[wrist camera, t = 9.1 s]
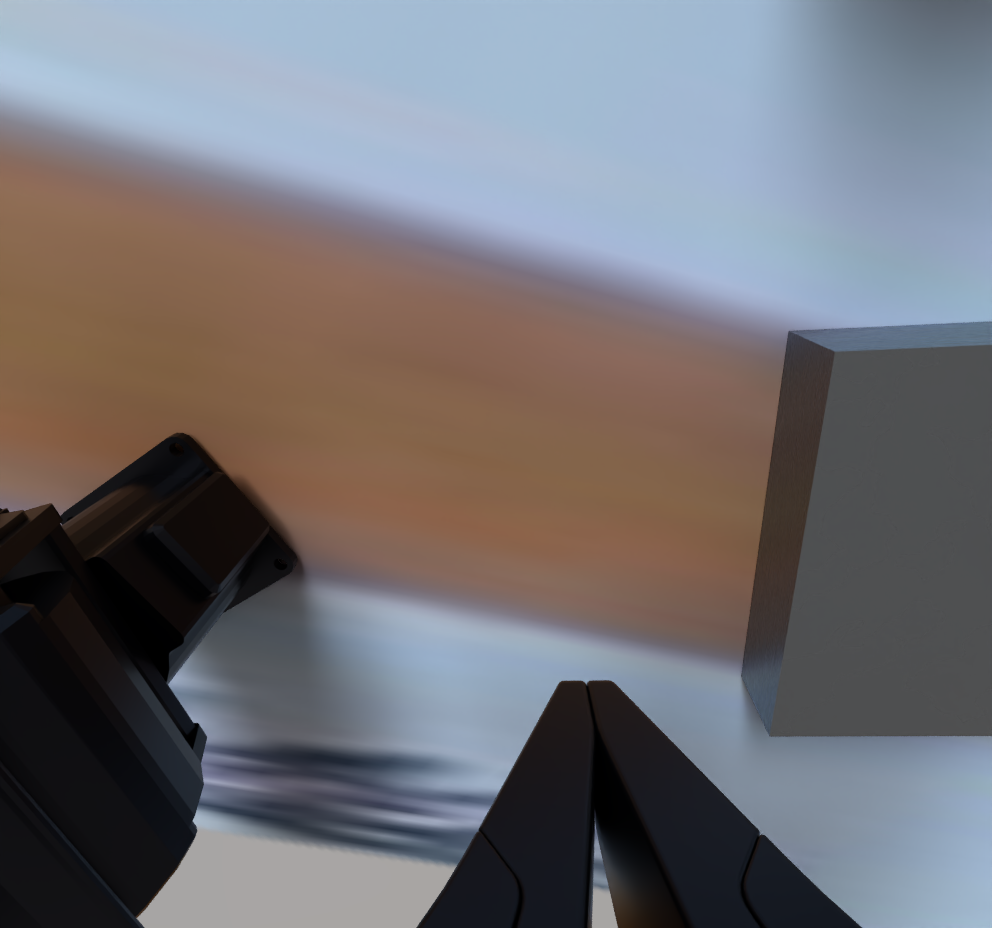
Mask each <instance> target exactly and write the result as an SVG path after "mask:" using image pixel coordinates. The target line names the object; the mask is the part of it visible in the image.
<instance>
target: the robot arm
mask: <svg viewBox="0 0 992 928" xmlns="http://www.w3.org/2000/svg"><path fill="white" fill-rule="evenodd" d="M176 443H177V444H179V445H181V446H182V448H183V449H184V452H181V451H179V450H178V449H177V447H176ZM60 523H61V524H62V526H61V524H60ZM278 559H283V560H284V561H286V563H287V564H282V563H281V562H279V560H278ZM296 564H297V557H296V555H295V553H294V552H293V551H292V550H291V549H290V548H289V546H288V545H287V544H286V543H285V542H284V541H283V540H282V539H281V537H280V536H279V535H278V534H277V533H276V532H275V531H274V530H273V528H272V527H271V526H270V525H269V523H268V522H267V521H266V519H265V518H264V517H263V516H262V515H261V514H260V513H259V512H258V510H257V509H256V508H255V507H254V506H253V505H252V504H251V503H250V501H249V500H248V499H247V498H246V497H245V496H244V495H243V494H242V492H241V491H240V490H239V489H238V488H237V487H236V486H235V485H234V483H233V482H232V481H231V480H230V479H229V478H228V477H227V476H226V475H225V474H224V473H223V472H222V471H221V470H220V469H219V468H218V467H217V466H216V464H215V463H214V462H213V461H212V460H211V459H210V458H209V457H208V455H207V454H206V453H205V452H204V451H203V450H202V449H201V448H200V446H199V445H198V444H197V443H196V442H195V441H194V440H193V439H192V438H191V437H190V436H189V435H187V434H184V433H175V434H173V435H171V436H170V437H168V438H166V439H165V440H164V441H162V442H161V443H160V444H158V445H157V446H155V447H154V448H153V449H151V450H150V451H148V452H147V453H146V454H144V455H143V456H141V457H140V458H139V459H137V460H136V461H135V462H133V463H132V464H130V465H129V466H128V467H126V468H125V469H123V470H122V471H121V472H119V473H118V474H116V475H115V476H114V477H112V478H111V479H110V480H108V481H107V482H105V483H104V484H103V485H101V486H100V487H98V488H97V489H96V490H94V491H93V492H92V493H90V494H89V495H87V496H86V497H85V498H83V499H82V500H80V501H79V502H78V503H76V504H75V505H73V506H72V507H71V508H69V509H68V510H67V511H65V512H64V513H63V514H62V515H61V516H60V515H59V513H58V512H57V510H56V509H55V507H54V506H53V504H52V503H50V504H46V505H43V506H39V507H36V508H32V509H29V510H26V511H24V510H20V511H14V512H9V511H8V509H7V508H5V509H0V928H144V927H143V925H142V924H141V923H140V922H139V921H138V920H137V919H136V918H137V917H138V916H139V915H140V914H141V913H142V912H143V911H144V910H145V909H146V908H147V907H148V905H149V904H150V903H151V901H152V900H153V899H154V898H155V896H156V895H157V894H158V892H159V891H160V890H161V889H162V888H163V886H164V885H165V884H166V882H167V881H168V880H169V879H170V877H171V876H172V875H173V874H174V872H175V871H176V870H177V868H178V866H179V865H180V863H181V861H182V860H183V858H184V856H185V855H186V853H187V851H188V850H189V848H190V846H191V844H192V842H193V840H194V838H195V836H196V833H197V827H196V825H195V824H194V823H193V818H194V816H195V813H196V810H197V806H198V803H199V799H200V796H201V792H202V789H203V785H204V782H203V775H202V767H201V761H202V757H203V752H204V748H205V744H206V740H207V736H206V734H205V733H204V731H203V730H202V728H201V727H200V725H199V724H198V723H193V722H192V720H191V719H190V717H189V716H188V714H187V713H186V711H185V710H184V708H183V707H182V705H181V704H180V702H179V701H178V699H177V698H176V696H175V695H174V693H173V692H172V690H171V689H170V687H169V686H168V684H169V683H170V681H171V680H172V679H173V677H174V676H175V675H176V673H177V672H178V671H179V669H180V668H181V667H182V665H183V664H184V663H185V662H186V660H187V659H188V658H189V656H190V655H191V654H192V652H193V651H194V650H195V648H196V647H197V646H198V644H199V643H200V642H201V641H202V639H203V638H204V637H205V635H206V634H207V633H208V631H209V630H210V629H211V627H212V626H213V625H214V623H215V622H216V621H217V620H218V618H219V617H220V616H221V614H222V613H224V612H225V611H227V610H229V609H231V608H232V607H234V606H236V605H237V604H239V603H241V602H242V601H244V600H246V599H247V598H249V597H251V596H253V595H254V594H256V593H258V592H259V591H261V590H263V589H264V588H266V587H268V586H269V585H271V584H273V583H275V582H276V581H278V580H280V579H281V578H283V577H285V576H286V575H288V574H289V573H291V572H292V570H293V569H294V567H295V566H296ZM595 824H596V829H597V835H598V840H599V844H600V849H601V853H602V858H603V862H604V867H605V871H606V876H607V880H608V885H609V889H610V894H611V898H612V903H613V907H614V912H615V916H616V921H617V925H618V928H862V927H861V926H860V925H858V924H857V923H856V922H855V921H854V920H853V919H852V918H851V917H850V916H848V915H847V914H846V913H845V912H844V911H843V910H842V909H841V908H839V907H838V906H837V905H836V904H835V903H834V902H833V901H832V900H831V899H829V898H828V897H827V896H826V895H825V894H824V893H823V892H822V891H821V890H820V889H819V888H818V887H817V886H816V885H814V884H813V883H812V882H811V881H810V880H809V879H808V878H807V877H806V876H805V875H804V874H803V873H802V872H801V871H800V870H799V869H798V868H797V867H796V866H795V865H794V864H793V863H792V862H791V861H790V860H789V859H788V858H787V857H786V856H785V855H784V854H783V853H782V852H781V851H780V850H779V849H778V848H777V847H776V846H775V845H774V844H773V843H772V842H771V841H770V840H769V839H768V838H767V837H766V836H765V835H760V832H759V830H758V829H757V828H756V827H755V826H754V825H753V824H752V823H751V822H750V821H749V820H748V819H747V818H746V817H745V816H744V815H743V814H742V813H741V812H740V811H739V810H738V809H737V808H736V807H735V806H734V805H733V804H732V802H731V801H730V800H729V799H728V798H727V797H726V796H725V795H724V794H723V793H722V792H721V791H720V790H719V789H718V788H717V787H716V786H715V785H714V784H713V783H712V782H711V781H710V780H709V779H708V778H707V777H706V776H705V775H704V774H703V773H702V772H701V771H700V770H699V769H698V768H697V767H696V766H695V765H694V764H693V763H692V762H691V761H690V760H689V759H688V758H687V757H686V756H685V755H684V753H683V752H682V751H681V750H680V749H679V748H678V747H677V746H676V745H675V744H674V743H673V742H672V741H671V740H670V739H669V738H668V737H667V736H666V735H665V734H664V733H663V732H662V731H661V730H660V729H659V728H658V727H657V726H656V725H655V724H654V723H653V722H652V721H651V720H650V719H649V718H648V717H647V716H646V715H645V714H644V713H643V712H642V711H641V710H640V709H639V708H638V707H637V706H636V704H635V703H634V702H633V701H632V700H631V699H630V698H629V697H628V696H627V695H626V694H625V693H624V692H623V691H622V690H621V689H620V688H619V687H618V686H617V685H616V684H615V683H614V682H612V681H609V680H604V681H589V682H588V683H587V685H586V684H585V682H583V681H561V682H560V683H559V684H558V686H557V687H556V689H555V691H554V693H553V695H552V697H551V698H550V700H549V702H548V704H547V706H546V707H545V709H544V711H543V713H542V715H541V717H540V718H539V720H538V722H537V724H536V726H535V727H534V729H533V731H532V733H531V735H530V737H529V738H528V740H527V742H526V744H525V746H524V747H523V749H522V751H521V753H520V755H519V757H518V758H517V760H516V762H515V764H514V766H513V768H512V769H511V771H510V773H509V775H508V777H507V778H506V780H505V782H504V784H503V786H502V788H501V789H500V791H499V793H498V795H497V797H496V798H495V800H494V802H493V804H492V806H491V808H490V809H489V811H488V813H487V815H486V817H485V818H484V820H483V822H482V824H481V826H480V828H479V832H477V833H476V834H475V835H474V837H473V839H472V841H471V842H470V844H469V846H468V848H467V850H466V852H465V853H464V855H463V857H462V859H461V860H460V862H459V864H458V865H457V867H456V869H455V870H454V872H453V874H452V875H451V877H450V879H449V880H448V882H447V884H446V885H445V887H444V889H443V890H442V891H441V893H440V894H439V896H438V897H437V899H436V900H435V902H434V903H433V905H432V906H431V908H430V909H429V910H428V912H427V913H426V915H425V916H424V918H423V919H422V920H421V922H420V923H419V925H418V926H417V928H592V903H593V902H592V901H593V870H594V834H595Z"/></svg>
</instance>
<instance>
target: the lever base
mask: <svg viewBox="0 0 992 928" xmlns="http://www.w3.org/2000/svg"><path fill="white" fill-rule="evenodd" d="M741 676H742V679H743V681H744V683H745V685H746V687H747V689H748V691H749V694H750V696H751V698H752V700H753V702H754V704H755V706H756V709H757V711H758V713H759V715H760V717H761V719H762V721H763V724H764V726H765V728H766V730H767V732H768V734H769V736H992V322H973V323H952V324H931V325H909V326H888V327H867V328H845V329H824V330H803V331H789V334H788V341H787V349H786V356H785V363H784V371H783V378H782V385H781V392H780V400H779V407H778V414H777V421H776V429H775V436H774V443H773V450H772V458H771V465H770V472H769V479H768V487H767V494H766V501H765V508H764V516H763V523H762V530H761V538H760V545H759V552H758V559H757V567H756V574H755V581H754V588H753V596H752V603H751V610H750V617H749V625H748V632H747V639H746V646H745V654H744V661H743V668H742V675H741Z"/></svg>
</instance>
